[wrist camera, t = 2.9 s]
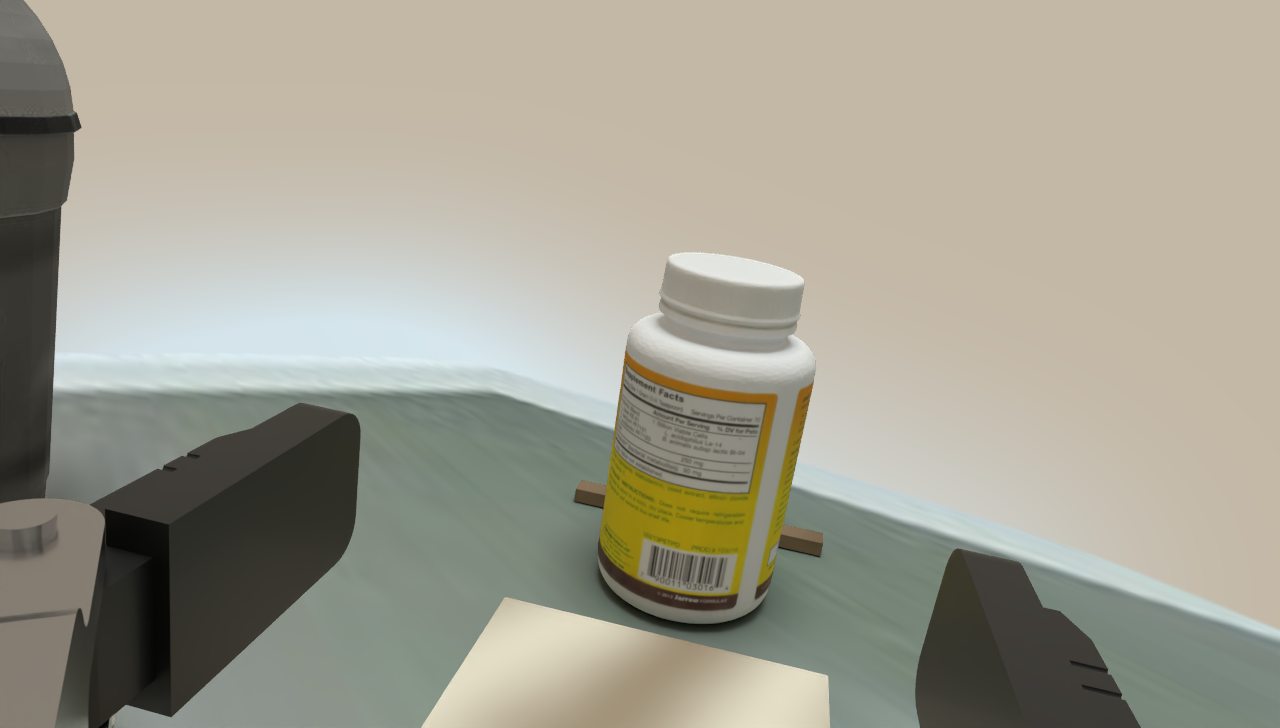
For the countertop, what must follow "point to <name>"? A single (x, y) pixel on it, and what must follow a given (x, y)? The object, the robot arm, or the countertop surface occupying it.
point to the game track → (622, 673)
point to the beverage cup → (30, 241)
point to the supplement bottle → (706, 440)
